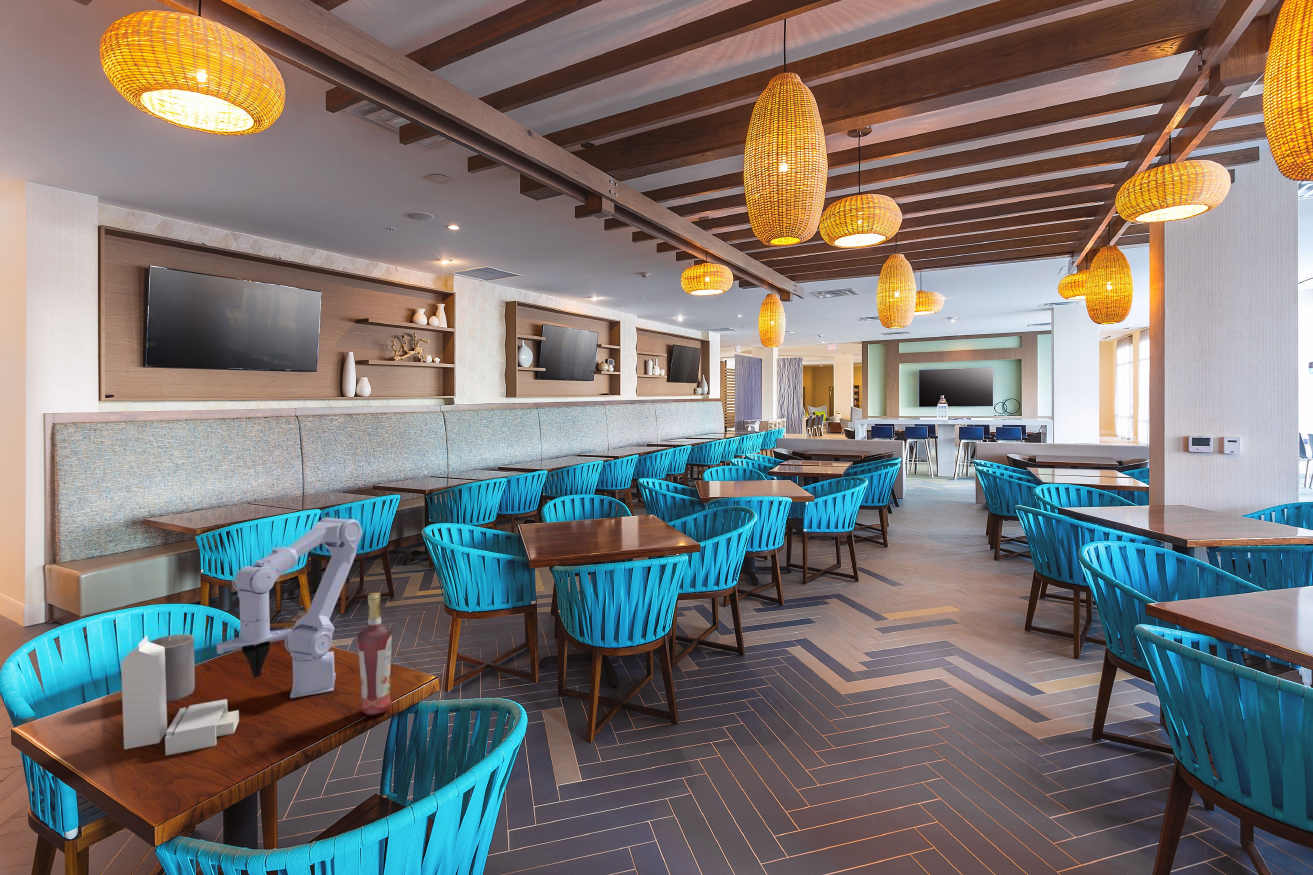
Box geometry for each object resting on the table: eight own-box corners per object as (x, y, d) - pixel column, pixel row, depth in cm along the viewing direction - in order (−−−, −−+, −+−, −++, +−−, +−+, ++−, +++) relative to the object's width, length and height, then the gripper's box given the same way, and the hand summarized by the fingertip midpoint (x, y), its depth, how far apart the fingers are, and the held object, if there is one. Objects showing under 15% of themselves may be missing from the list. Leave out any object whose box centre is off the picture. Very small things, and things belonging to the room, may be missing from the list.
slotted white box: (227, 717, 141) (227, 698, 141) (215, 745, 129) (215, 724, 129) (182, 726, 137) (181, 706, 137) (165, 755, 125) (164, 733, 125)
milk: (167, 730, 135) (165, 632, 135) (159, 743, 130) (157, 641, 129) (132, 736, 133) (130, 636, 132) (122, 750, 127) (120, 646, 127)
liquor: (387, 717, 141) (385, 598, 140) (354, 719, 140) (352, 599, 139) (396, 702, 148) (394, 589, 147) (365, 704, 147) (362, 590, 146)
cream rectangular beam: (238, 720, 139) (238, 710, 139) (233, 733, 134) (233, 722, 134) (185, 730, 135) (184, 719, 135) (177, 743, 130) (177, 732, 130)
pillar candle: (135, 701, 149) (133, 641, 148) (175, 683, 158) (174, 627, 158) (166, 706, 147) (165, 645, 146) (205, 688, 156) (204, 630, 155)
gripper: (287, 607, 149) (288, 661, 149) (214, 620, 139) (216, 678, 140) (293, 614, 144) (294, 671, 144) (218, 628, 134) (219, 689, 135)
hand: (256, 675), depth 142 cm, fingers closed
